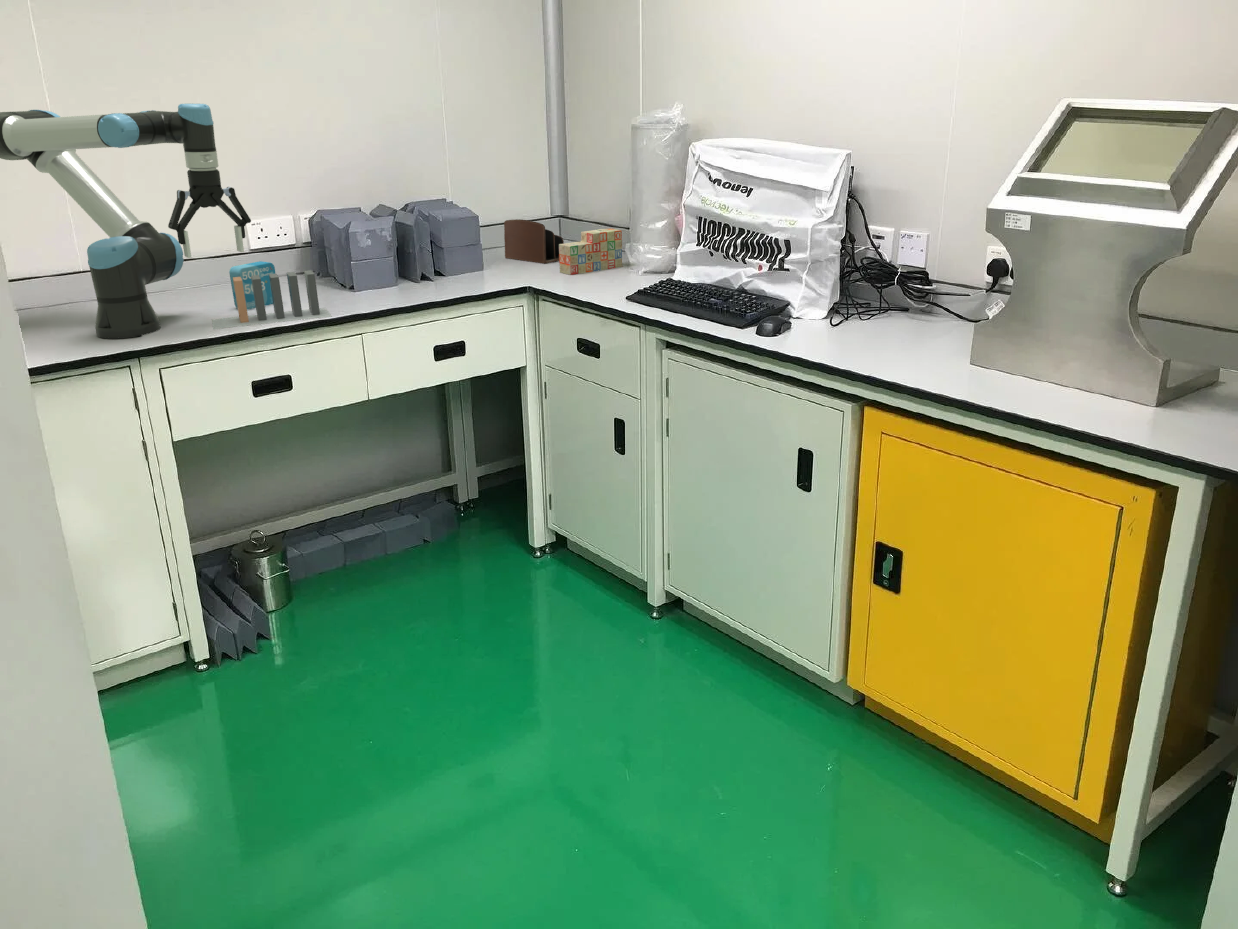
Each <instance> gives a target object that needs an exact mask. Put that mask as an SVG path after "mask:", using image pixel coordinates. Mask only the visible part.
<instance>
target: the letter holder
mask: <svg viewBox="0 0 1238 929" xmlns="http://www.w3.org/2000/svg"><path fill="white" fill-rule="evenodd" d="M545 226H546V225H544V224H542V223H541V222H536V221H534V220H528V219H518V218H517V219H506V220H504V221H503V228H504V233H503V234H504V236H503V237H504V238H503V239H504V258H505V259H509V260H515V261H521V262H529V263H536V264H543V265H545V264H551V263H556V262H559V244H565V242H564V239H563V237H562V236H560V235H557V234H555V233H554V232H553V231H552V230H549V229H547V228H546V227H545Z"/></svg>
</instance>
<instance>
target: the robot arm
mask: <svg viewBox="0 0 1238 929" xmlns="http://www.w3.org/2000/svg"><path fill="white" fill-rule="evenodd" d="M177 109H178V110H177V111H165V110H164V111H163V110H153V109H152V110H143V111H139V112H124V113H123V112H116V113H108V114H92V115H89V114H88V115H74V116H60V115H59V114H57V113H55V112H53V111H50V110H42V109H29V110H25V111H24V110H23V111H22V110H21V111H20V110H19V111H2V112H1V111H0V159H1V160H5V161H22V160H27V161H28V162H29V163H30V164H31V165H32V166H33V167H34V168H35V169H36V170H37V171H38V172H40V173H42V174H49V175H50V176H51V177H52V179H54V181H56V183H57V184H58V185H59V186H60V187H61V188H62V189H63V190H64V191H65V192H66V193H67V195H69V196H70V197H71V198H72V199H73V200H74V202H76V204H77V205H79V207H80V208H81V209H83V211H84V212H85V213H86V214H87V215H88V216H89V217H90V218H91V220H93V222H94V223H95V224H97V226H98V227H99V228H101V230H102V231H103V232H104V233H105V234H106V235H107V236H108V237H109V238H107V237H106V238H102V239H100V240H99V239H98V240H96V241H94V242H92V243H91V244H90V245H88V246H87V249H86V254H87V255H86V256H87V264H88V267H89V271H90V275H91V279H92V284H93V288H94V293H95V296H96V301H97V310H96V318H95V319H96V320H95V325H94V327H95V328H94V329H95V332H96V333H95V334H96V337H98V338H101V339H109V340H111V339H115V340H116V339H129V338H137V337H142V336H145V335H148V334H151V333H154V332H157V331H160V329H161V328H162V327H161V320H160V319H159V316H158V315H157V313H156V311H155V310H154V308H153V306H152V304H151V303H150V300H149V299H148V293H147V288H146V286H147V285H150V284H153V283H157V282H161V281H167V280H169V279H170V278H172V277H175V276H176V275H178V274H179V273H180V271H181V270H182V267H184V257H186V258H189V259H190V258H192V252H191V246H190V245H191V244H190V239H189V232H188V231H187V230H186V228H187V226H188V225H189V224H190V222H191V220H192V219H193V217H195V216H194V215H195V214H196V213H197V211H198V210H199V209H200V208H203V209H205V208H209V207H211V208H216V207H217V206H218V207H219V208H220V209H221V210H222V211H223V213H225V215H227V216H228V217H229V218H230V220H232V221H233V222H234V223H235V224H236V225H233V230H234V235H235V236H234V238H235V246H236V251H237V252H240V253H244V252H245V249H244V241H243V239H246V230H245V227H246V225H247V224H250V223H251V222H252V220H251V217H250V216H249V214H248V212H247V211H246V209H244V207H243V205H242V204H241V202H240V200H239V199H238V197H237V194H236V191H235V190H236V189H235V188H234V187H231V186H227V187H225V188H223V187H222V182H221V175H220V170H219V169H217V168H218V167H219V159H218V153H217V152H218V151H217V147H216V139H215V129H214V121H213V116H212V112H211V108H210V106H209V105H208V104H207V103H180V104H178V106H177ZM158 144H182V145H183V146H182V147H183V151H184V159H185V160H184V161H185V166H186V168H187V169H188V170H187V171H186V173H187V180H188V186H189V189H188V190H182V189H178V190H176V202H175V204H174V207H173V210H172V213H171V216H170V219H169V222H168V224H167V227H168V229H171V230H173V231H176V233H177V238H176V237H175V236H173V235H172V234H170V233H166V232H159V231H158V230H157V229H156V228H155V227H154V226H153V225H152V224H151V223H150V222H149V221H141V220H139V218H137V216H135V215H134V213H133V212H132V211H131V210H130V209H129V208H128V207H127V206H126V204H124V203H123V201H121V200H120V198H119V197H118V196H116V194H115V193H114V192H113V191H112V190H111V189H110V188H109V187H108V186H107V185H106V183H105V182H104V181H102V179H101V178H100V177H99V176H98V175H97V173H95V172H94V171H93V169H92V168H90V167H89V166H88V165H87V164H86V162H85V161H84V160H83V159H82V158H81V157H80V156H79V155H78V154H77V153H76V151H77V150H84V149H85V150H86V149H103V148H105V149H106V148H117V149H124V148H130V147H136V146H138V147H139V146H147V145H148V146H149V145H158ZM224 195H225V196H226V197H228V199H229V201H230V203H231V204H232V206H233V207H234V208H235V210H236V213H235V212H234V211H233V210H232V209H231V208H230V206H228V205H227V203H226V202H225V201H224V200H223V199H222V198H223V197H224ZM188 197H189V198H190V199H191V202H190V203H189V205H188V208H187V210H186V211H185V212H184V213H183V216H182V212H183V209H184V206H185V204H186V201H187V200H188ZM237 214H238V215H239V216H238V215H237ZM181 216H182V217H181ZM180 218H181V219H180ZM181 245H182V246H181ZM182 247H183V248H182Z"/></svg>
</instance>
